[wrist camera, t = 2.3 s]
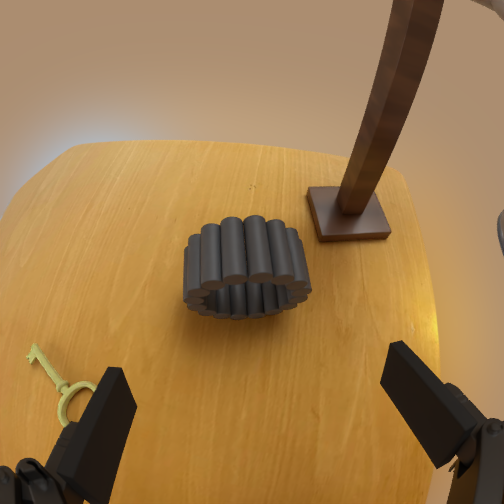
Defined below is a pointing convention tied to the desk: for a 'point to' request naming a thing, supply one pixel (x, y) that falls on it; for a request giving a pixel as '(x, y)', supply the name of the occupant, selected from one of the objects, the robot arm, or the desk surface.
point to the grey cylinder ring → (245, 269)
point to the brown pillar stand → (381, 124)
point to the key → (58, 382)
